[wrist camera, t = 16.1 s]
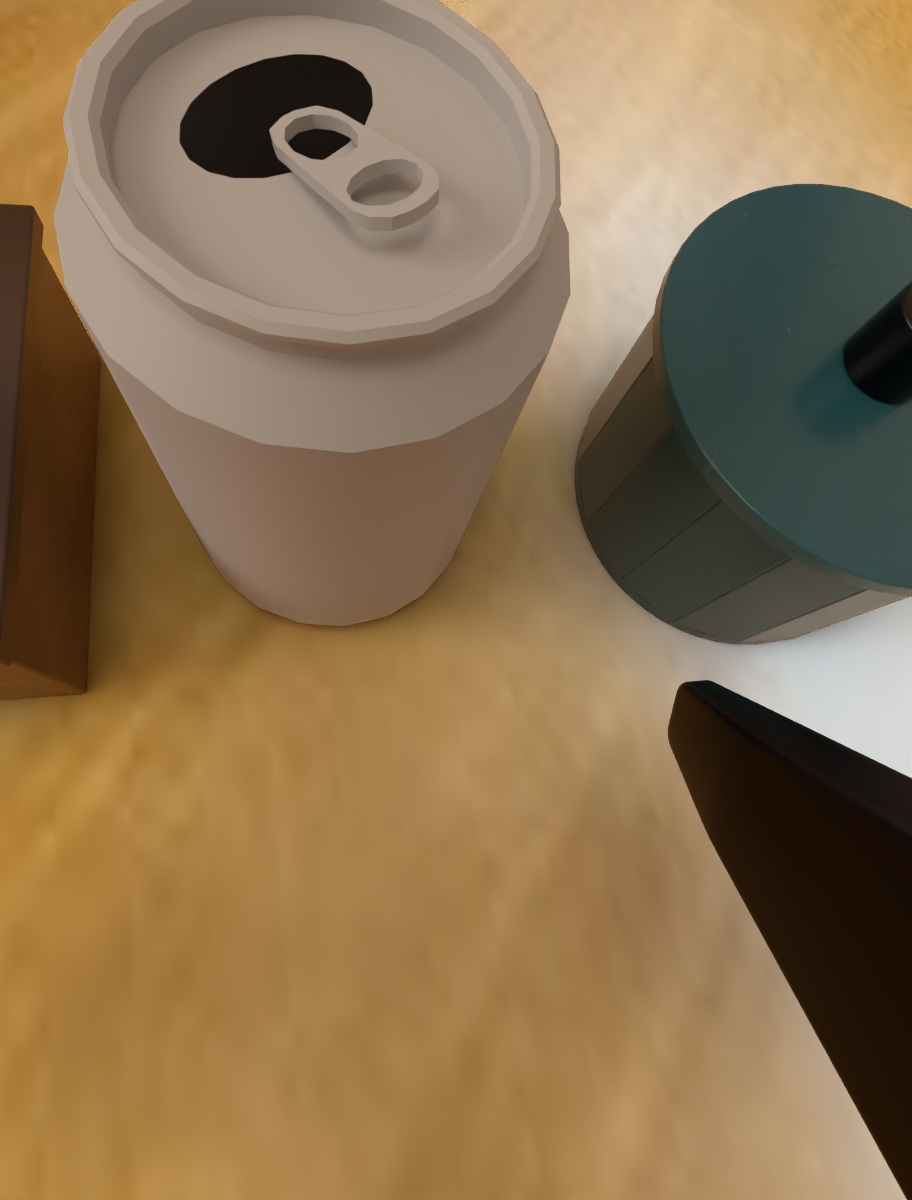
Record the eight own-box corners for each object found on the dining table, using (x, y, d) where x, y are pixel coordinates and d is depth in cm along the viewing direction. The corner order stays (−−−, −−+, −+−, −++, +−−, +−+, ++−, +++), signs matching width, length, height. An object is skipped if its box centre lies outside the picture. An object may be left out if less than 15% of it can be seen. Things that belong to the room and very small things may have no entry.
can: (346, 355, 21) (357, -155, 10) (510, 526, 21) (722, 185, 9) (142, 492, 19) (-152, 29, 8) (318, 690, 18) (286, 505, 7)
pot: (894, 633, 22) (1109, 568, 16) (602, 656, 20) (718, 591, 14) (816, 365, 24) (974, 221, 18) (553, 362, 23) (632, 200, 16)
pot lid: (1101, 592, 16) (1257, 549, 13) (690, 619, 14) (774, 575, 11) (963, 228, 19) (1067, 132, 16) (605, 207, 17) (656, 94, 14)
